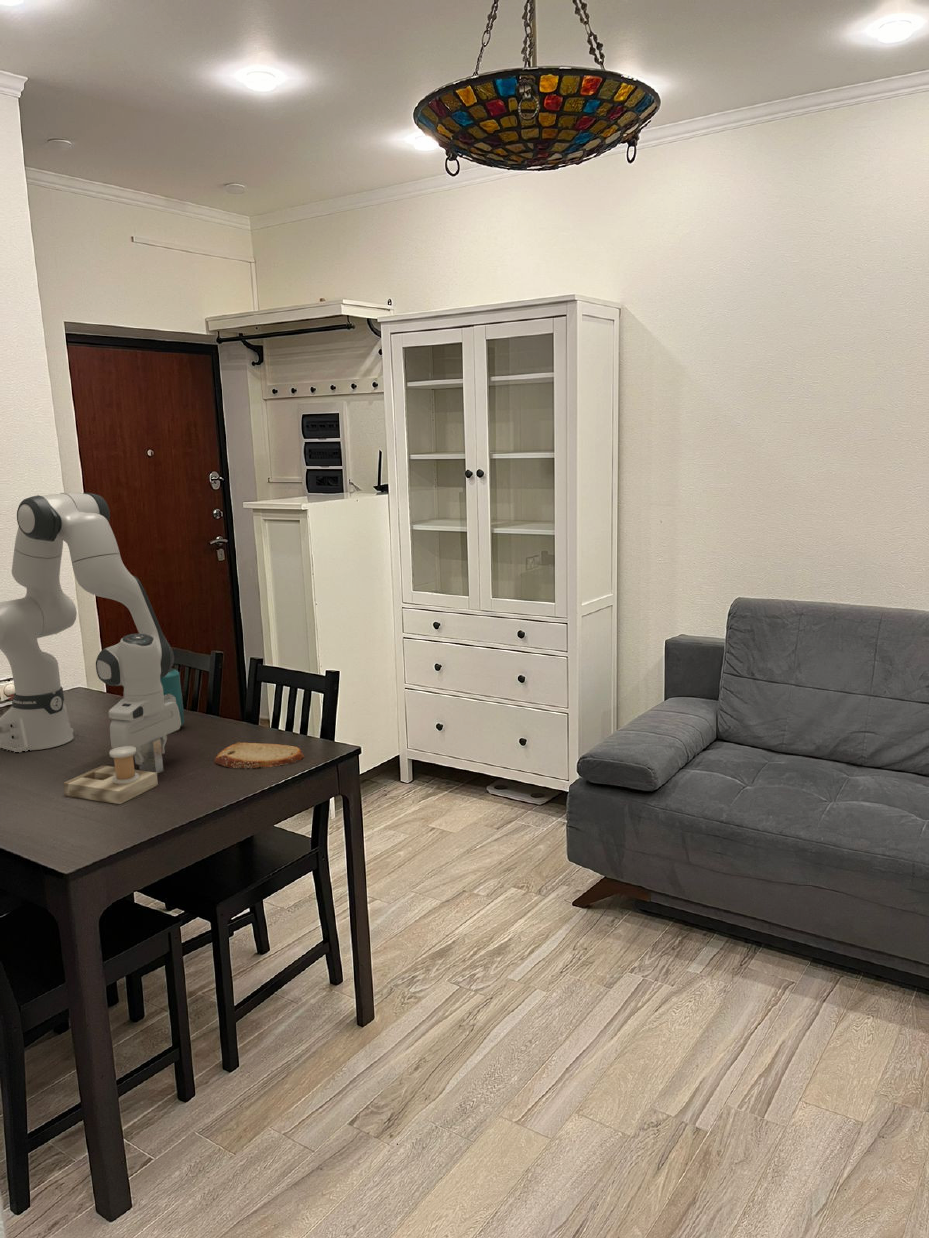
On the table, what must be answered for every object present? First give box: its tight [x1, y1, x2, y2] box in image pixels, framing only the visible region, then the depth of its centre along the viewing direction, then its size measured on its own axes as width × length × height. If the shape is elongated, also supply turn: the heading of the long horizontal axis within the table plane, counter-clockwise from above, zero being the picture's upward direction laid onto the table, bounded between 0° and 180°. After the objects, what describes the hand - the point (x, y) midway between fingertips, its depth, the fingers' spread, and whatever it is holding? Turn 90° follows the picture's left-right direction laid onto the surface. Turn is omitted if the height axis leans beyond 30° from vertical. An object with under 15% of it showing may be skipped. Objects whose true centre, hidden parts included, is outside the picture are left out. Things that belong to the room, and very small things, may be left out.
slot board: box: [63, 765, 159, 805], centre depth 214 cm, size 16×12×3 cm
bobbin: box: [109, 746, 139, 785], centre depth 211 cm, size 6×6×7 cm
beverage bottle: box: [160, 662, 186, 726], centre depth 257 cm, size 6×7×20 cm
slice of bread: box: [214, 741, 305, 770], centre depth 231 cm, size 18×18×4 cm
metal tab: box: [138, 738, 164, 775], centre depth 225 cm, size 5×2×8 cm, turn 67°
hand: (150, 758), depth 225 cm, fingers open, 5 cm apart
